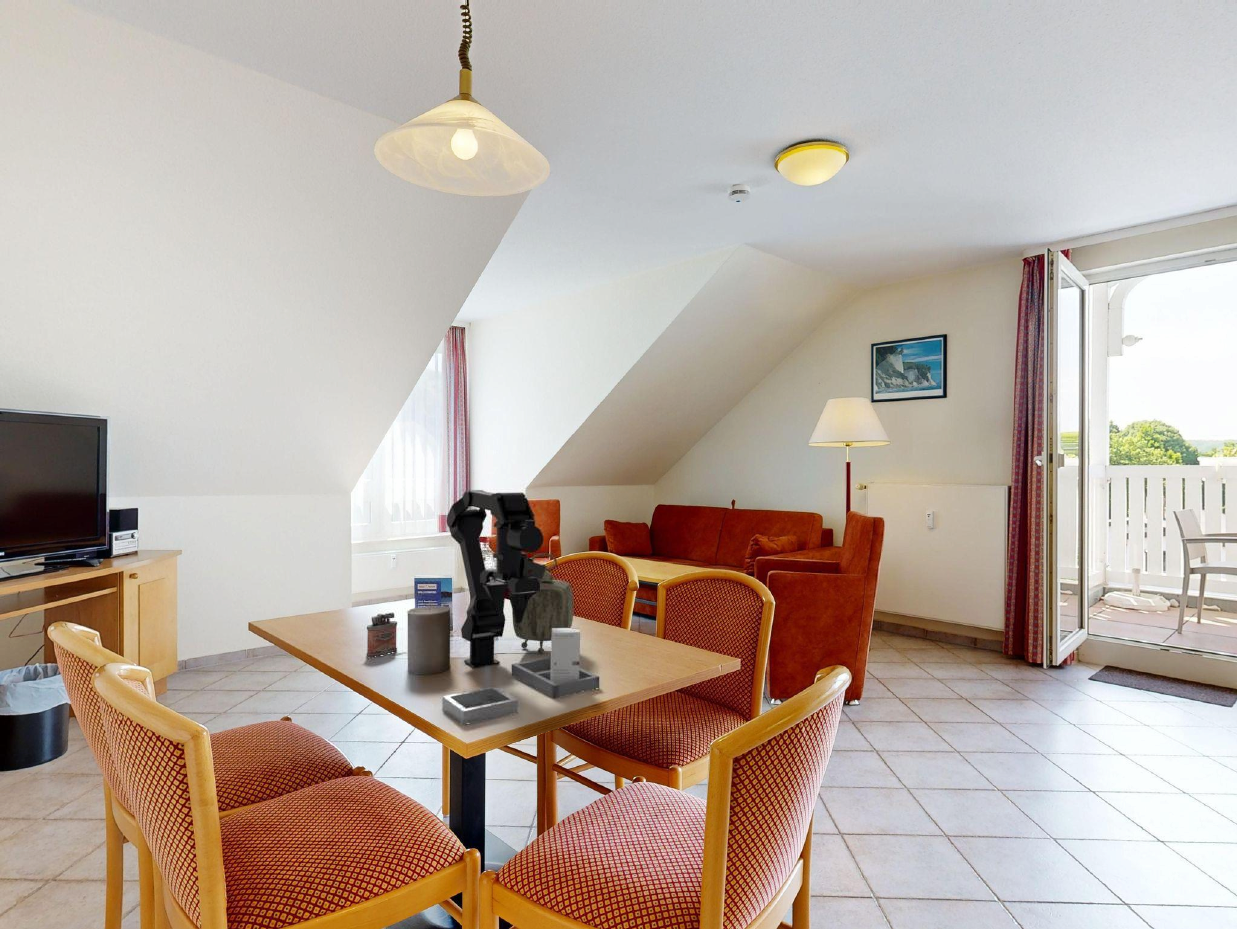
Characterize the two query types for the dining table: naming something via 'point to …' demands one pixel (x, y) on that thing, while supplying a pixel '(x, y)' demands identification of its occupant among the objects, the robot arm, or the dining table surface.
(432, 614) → the pillar candle
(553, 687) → the rack
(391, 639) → the lighter
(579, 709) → the dining table surface
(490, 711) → the socket
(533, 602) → the tabletop clock
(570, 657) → the skincare box
